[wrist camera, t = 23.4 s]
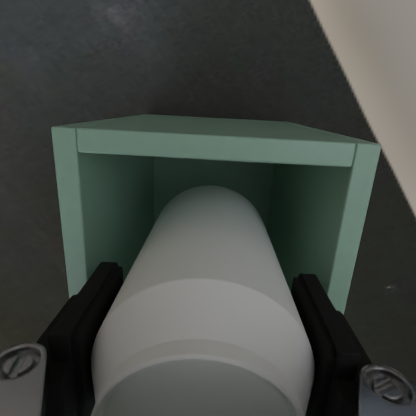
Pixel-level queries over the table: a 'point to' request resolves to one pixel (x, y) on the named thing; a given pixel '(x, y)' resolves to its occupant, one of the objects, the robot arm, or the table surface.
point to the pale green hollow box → (219, 176)
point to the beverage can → (204, 320)
